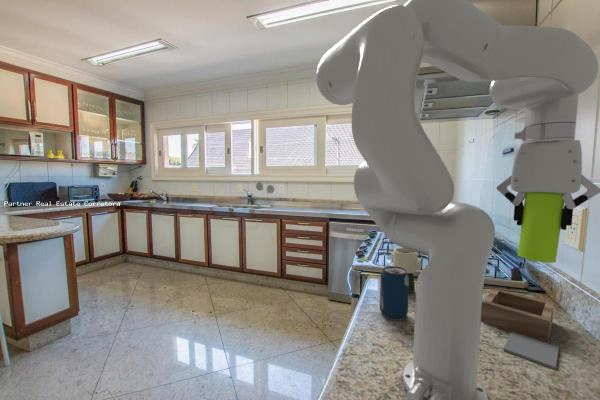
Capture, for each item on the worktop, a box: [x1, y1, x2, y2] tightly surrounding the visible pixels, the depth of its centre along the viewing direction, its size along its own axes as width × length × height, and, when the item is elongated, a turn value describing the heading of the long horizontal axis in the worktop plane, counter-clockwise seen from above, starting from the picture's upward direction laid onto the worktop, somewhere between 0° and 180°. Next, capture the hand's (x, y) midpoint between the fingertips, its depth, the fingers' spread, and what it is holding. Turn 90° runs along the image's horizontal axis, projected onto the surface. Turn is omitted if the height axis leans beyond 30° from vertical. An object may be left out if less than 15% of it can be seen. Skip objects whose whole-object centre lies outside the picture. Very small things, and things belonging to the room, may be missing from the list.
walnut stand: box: [481, 288, 555, 344], centre depth 69 cm, size 12×12×5 cm
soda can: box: [379, 265, 410, 321], centre depth 71 cm, size 7×7×12 cm
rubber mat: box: [502, 331, 560, 370], centre depth 57 cm, size 9×8×1 cm
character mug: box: [390, 247, 422, 293], centre depth 87 cm, size 11×7×13 cm, turn 31°
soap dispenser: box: [517, 161, 576, 264], centre depth 55 cm, size 6×7×20 cm
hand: (541, 225), depth 55 cm, fingers closed on soap dispenser, 6 cm apart
